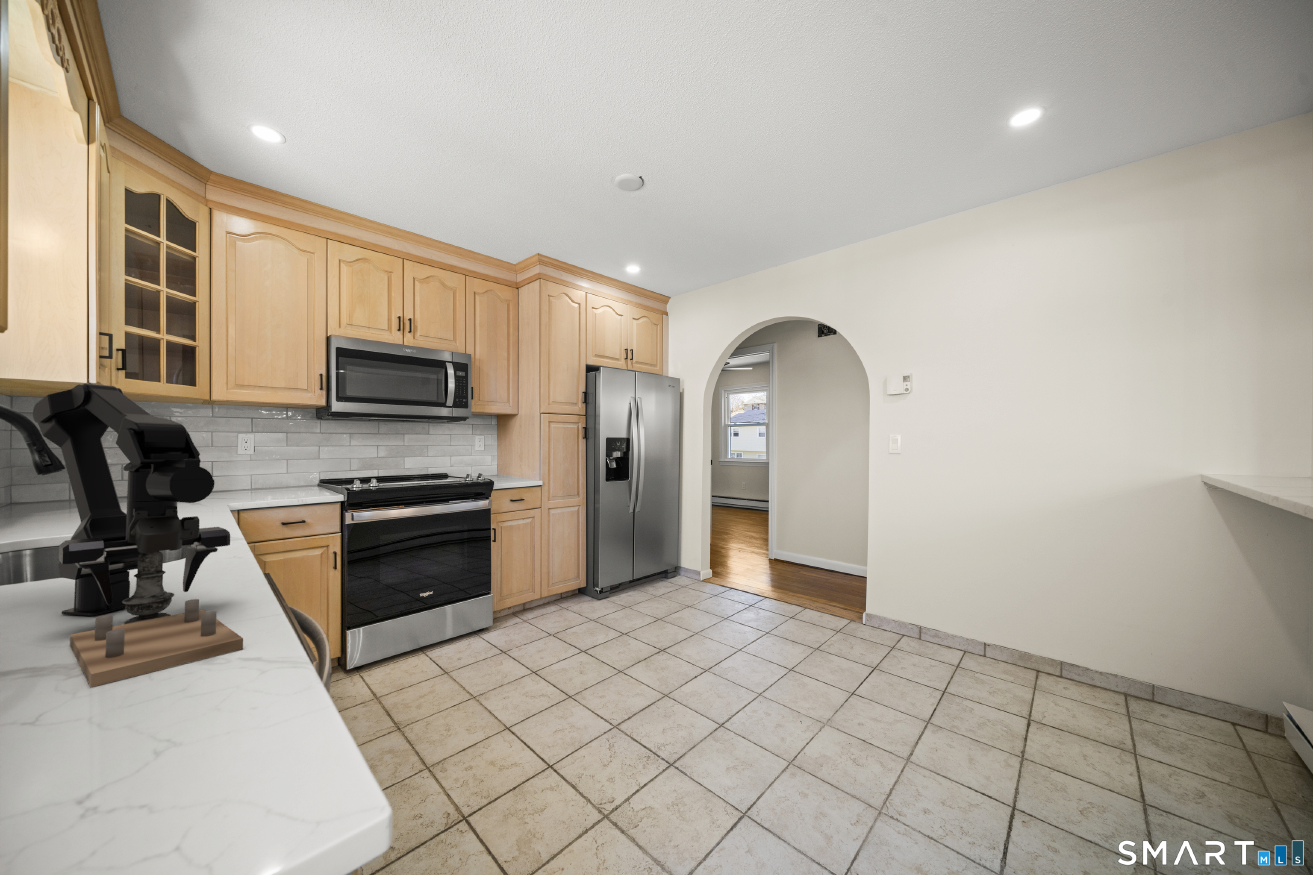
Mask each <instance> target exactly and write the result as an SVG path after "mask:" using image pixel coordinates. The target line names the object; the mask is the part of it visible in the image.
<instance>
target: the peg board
mask: <svg viewBox="0 0 1313 875" xmlns="http://www.w3.org/2000/svg"><path fill="white" fill-rule="evenodd" d="M217 613H218V612H217V610H209V611H206V610H205V609H200V599H199V598H195V599H189V600H185V601H184V612H182V613H177V614H172V615H171V614H170V615H171V616H166V617H160V618H155V619H150V620H145V621H139V622H134V623H129V624H120V625H114V624H113V619H114V615H113V614H111V613H110V614H101V615H97V616H95V621H94V622H95V625H94V629H93V630H92V629H91V630H87V631H82V632H77V633H71V634H70V638H69V639H70V640H69V646H70V648H71V650H72V652H73V654H74V657H75V658H76V661H77V662H78V664H79V667H80V669H81V671H82V673H83V675H84V676H85V679H86V681H87V682H88V684H89V687H90V688H93V687H97V686H98V687H99V686H101V685H106V684H109V683H113V682H118V681H121V680H125V679H126V680H127V679H129V678H130V679H131V678H133V677H138V676H141V675H145V674H149V673H153V672H157V671H162V670H165V669H169V668H174V667H177V666H181V665H185V664H190V663H194V662H198V661H202V660H206V659H209V658H214V657H217V656H221V655H224V654H225V655H226V654H230V653H233V652H237V651H241V650H244V637H242V636H241V635H239V634H238V633H236V632H235V631H234V630H232V629H231V628H230V627H229V626H227V625H225V624H224V623H223V622H221V621H220V620H219V619H218V618H217ZM113 625H114V626H113Z"/></svg>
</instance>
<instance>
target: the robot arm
mask: <svg viewBox="0 0 1313 875" xmlns="http://www.w3.org/2000/svg"><path fill="white" fill-rule="evenodd" d="M32 418H33V420H34V422H35V423H37V425H38V427H39V429H40V432H41V434H42V436H43V437H44V438H46V439H47V440H48V441H50V442H51V443H53V444H54V445H56V446H57V447H59V448H60V450H61V453H62V456H63V460H64V464H65V467H66V471H67V475H68V479H69V483H70V486H71V490H72V494H73V497H74V501H75V505H76V508H77V512H78V516H79V519H80V523H79V525H78V527H77V528H76V529H75V531H74V533H73V534H72V536H71V538H70V539H68V540H64V541H63V542H62V543H60V544H59V547H58V560H59V563H58V572H59V577H60V578H62V579H68V580H72V581H74V601H73V604H74V605H73V607H72V608H68V609H64V610H62V611H61V614H62V615H69V616H70V615H71V616H74V615H75V616H87V617H89V616H90V617H96V616H101V615H104V614H106V613H110V612H114V611H118V610H122V609H125V604H123V603H122V601H123V600H125V599H127V598H130V597H131V596H130V593H131V590H130V589H131V581H130V571H133V570H138V556H139V555H140V554H141V553H153V552H155V551H160V552H163V551H170V552H172V551H178V550H180V549H182V548H183V547H184V546H187V547H186V552H185V553H186V554H185V562H184V570H183V578H182V591H183V592H184V593H188V591H189V590H190V587H191V586H192V584H193V581H194V580H195V578H196V577H195V576H197V573H198V571H199V569H200V568H201V566H202V564H203V562H204V561H205V559H206V558H207V557H208V556H209V555H210V554H211V553H216V552H218V550H219V549H218V548H220V547H228V546H230V545H231V534H230V531H229V530H228V529H226V528H223V527H220V526H211V527H201V528H200V518H199V516H184V517H182V518H180V517H179V515H178V503H183V504H184V503H186V504H195V503H199V502H202V501H203V500H205V499H207V497H209V496H210V495H211V494H212V492H213V490H214V487H215V484H216V483H215V479H214V477H213V475H212V473H210V472H211V471H209V470H207V468H204V467H202V466H201V458H200V456H201V453H200V451H199V449H198V448H197V447H196V445H195V443H194V442H193V440H192V439H193V438H192V437H191V435H190V432H188V430H187V428H186V427H185V426H184V425H183V424H182V423H179V422H177V421H174V420H172V419H169V418H164V417H158V416H154V415H153V414H152V415H151V413H149V412H148V411H146V410H145V409H144V408H142V407H141V406H140V405H138V404H136V402H134V401H133V400H131V399H130V398H129V397H127V396H126V395H125V394H124V393H123V391H122V389H121V388H120V387H116V386H114V385H108V384H107V385H105V384H95V383H94V384H93V383H82V384H81V383H80V384H77V385H75V386H74V387H72V388H71V389H65V390H61V391H59V392H54V393H50V394H49V393H48V394H47V395H46V396H44V397H43V398H42V399H40V400H39V401H37V402H36V404H35V405H34V407H33V409H32ZM109 428H110V429H111V430H112V431H114V432H115V433H117V437H116V441H115V444H116V445H117V447H118V449H119V450H120V451H121V452H122V453H123V455H124V456H125V457H126V458H127V460H128V461H129V462H128V463H126V464H125V465H124V466H123V471H125V472H127V490H126V492H127V494H126V500H127V501H126V512H124V511H123V509H122V507H121V503H120V501H119V498H118V494H117V491H116V490H117V489H116V487H115V483H114V480H113V476H112V472H111V469H110V466H109V462H108V460H107V455H106V452H105V448H104V446H103V443H102V438H103V436H104V435H105V433H106V432H107V431H108V429H109Z"/></svg>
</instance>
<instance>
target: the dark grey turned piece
mask: <svg viewBox="0 0 1313 875" xmlns="http://www.w3.org/2000/svg"><path fill="white" fill-rule="evenodd" d="M163 562H164V554H163V551H155V552H153V553H141V554H140V555H139V556H138V569H137V573H135V574H134V575H133V577H134V578H136V579H135V580H136V582H135V590H134V592H133V595H131V596H130V597H129V598H127V599H125V600H123V601H122V603H123V604H125V608H124V609H125V610H126V613H128V614H130V615H131V616H133V617H130V618H129V619H127V620H126V621H124V624H129V623H134V622H139V621H145V620H150V619H155V618H160V617H166V616H171V614H170V613H167V612H163V611H165V610H166V609H167V608H168V607H169V606H170V605H171V603H172V601H173V600H172V598H174V597H175V593H174V592H170V591H167V590H165V588H164V585H163V582H164V581H163V580H164V579H163V578H164V574H166V571H165V570H163V569H164V568H163V566H164V565H163V564H164V563H163Z"/></svg>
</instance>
